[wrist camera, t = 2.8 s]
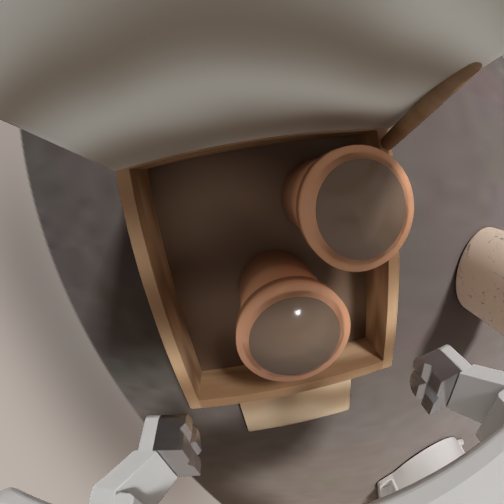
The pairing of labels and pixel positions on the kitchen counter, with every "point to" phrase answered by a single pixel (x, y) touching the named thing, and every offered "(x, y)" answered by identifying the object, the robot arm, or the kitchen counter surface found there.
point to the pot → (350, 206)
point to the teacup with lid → (483, 277)
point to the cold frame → (236, 141)
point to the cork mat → (297, 406)
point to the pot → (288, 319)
